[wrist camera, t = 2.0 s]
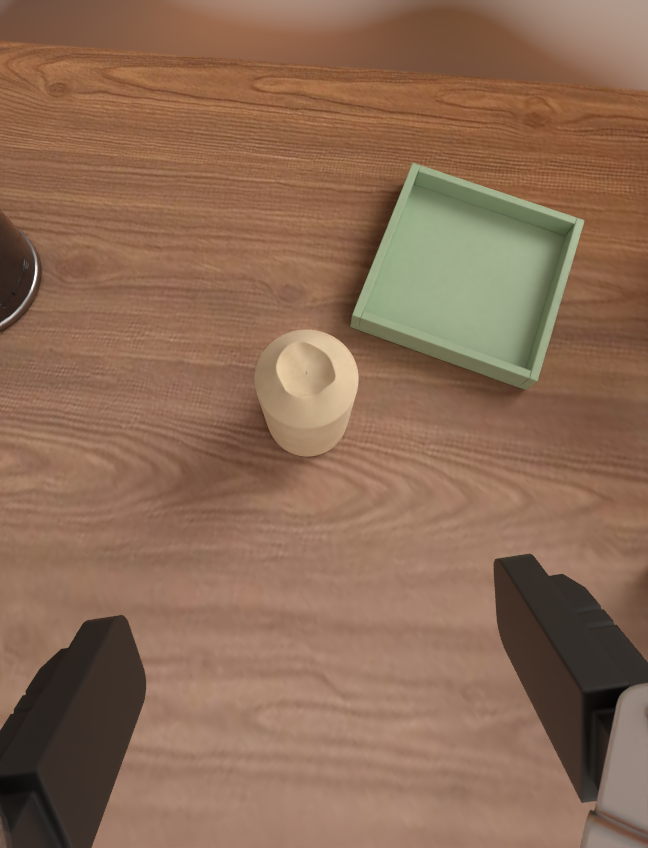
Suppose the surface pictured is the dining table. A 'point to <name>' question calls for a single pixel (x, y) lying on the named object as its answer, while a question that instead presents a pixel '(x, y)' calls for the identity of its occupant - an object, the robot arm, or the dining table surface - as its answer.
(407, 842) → the dining table surface
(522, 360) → the tray
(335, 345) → the candle
